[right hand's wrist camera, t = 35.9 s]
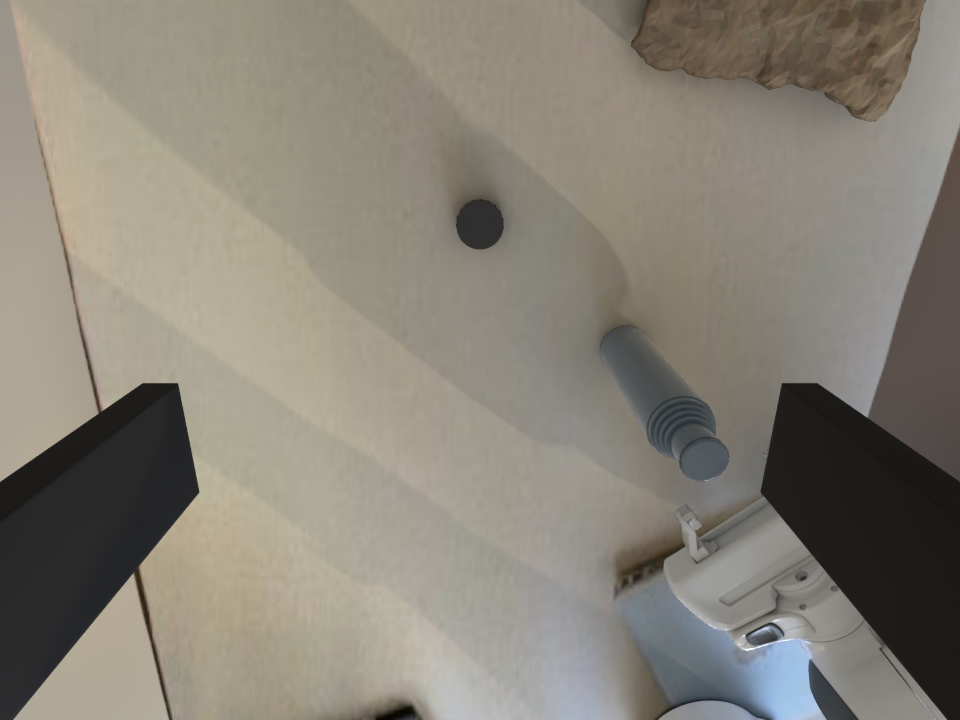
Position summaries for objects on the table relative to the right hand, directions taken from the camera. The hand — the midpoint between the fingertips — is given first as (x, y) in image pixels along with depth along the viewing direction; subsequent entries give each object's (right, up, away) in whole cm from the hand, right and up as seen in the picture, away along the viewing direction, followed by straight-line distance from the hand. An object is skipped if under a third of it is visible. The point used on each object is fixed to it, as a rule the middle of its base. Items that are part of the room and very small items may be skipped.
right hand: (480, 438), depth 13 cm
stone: (+23, +30, +32) cm, 50 cm away
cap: (0, +13, +37) cm, 39 cm away
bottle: (+14, +3, +42) cm, 45 cm away
